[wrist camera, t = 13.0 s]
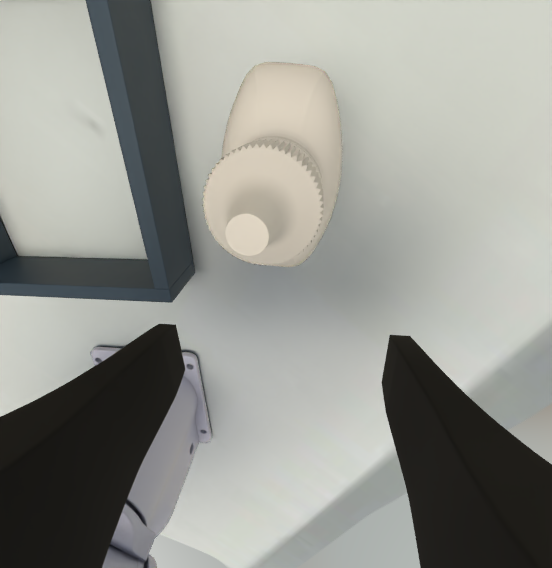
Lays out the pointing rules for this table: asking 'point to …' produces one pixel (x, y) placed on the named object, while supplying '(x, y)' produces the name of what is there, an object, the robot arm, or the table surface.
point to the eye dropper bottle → (277, 166)
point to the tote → (141, 173)
